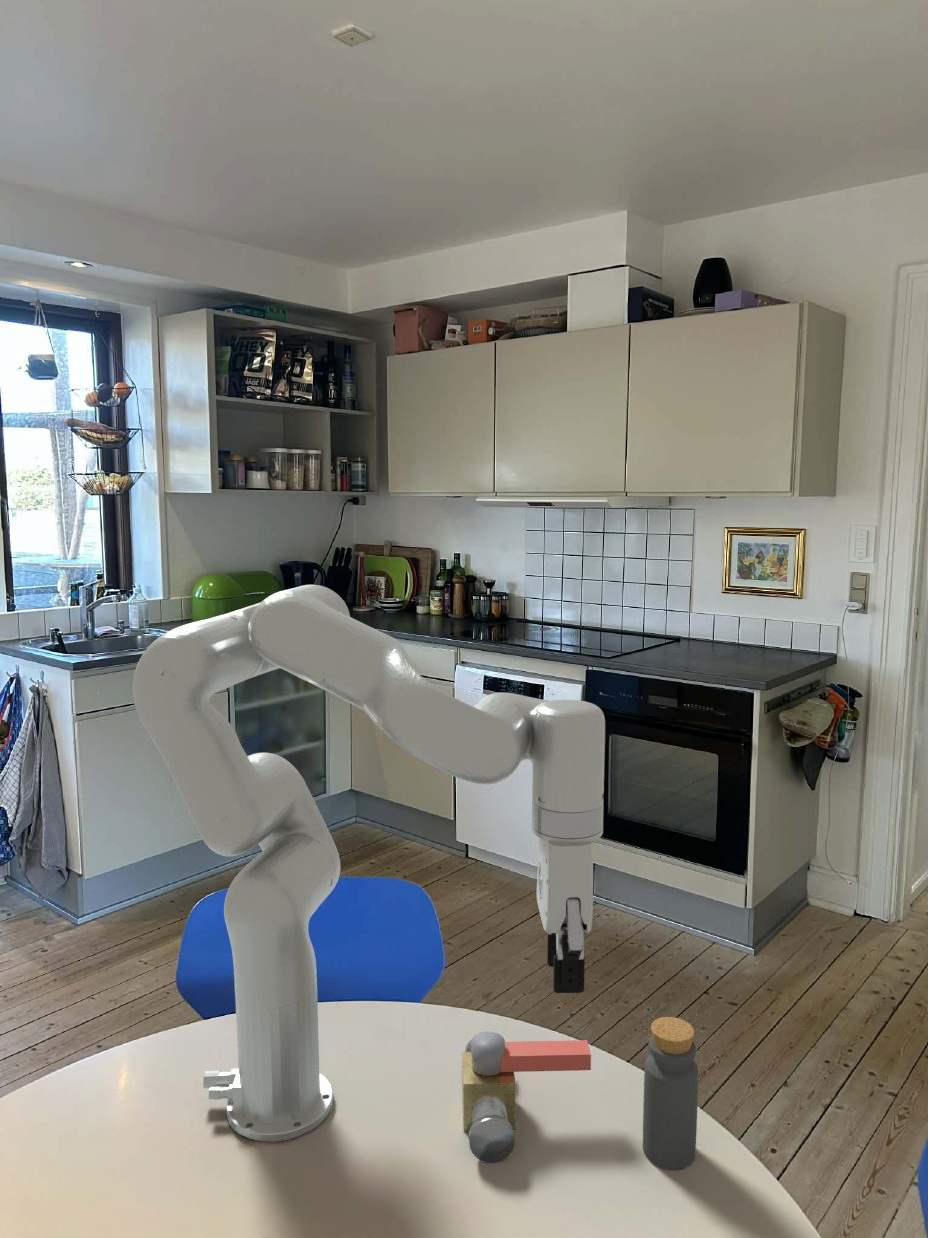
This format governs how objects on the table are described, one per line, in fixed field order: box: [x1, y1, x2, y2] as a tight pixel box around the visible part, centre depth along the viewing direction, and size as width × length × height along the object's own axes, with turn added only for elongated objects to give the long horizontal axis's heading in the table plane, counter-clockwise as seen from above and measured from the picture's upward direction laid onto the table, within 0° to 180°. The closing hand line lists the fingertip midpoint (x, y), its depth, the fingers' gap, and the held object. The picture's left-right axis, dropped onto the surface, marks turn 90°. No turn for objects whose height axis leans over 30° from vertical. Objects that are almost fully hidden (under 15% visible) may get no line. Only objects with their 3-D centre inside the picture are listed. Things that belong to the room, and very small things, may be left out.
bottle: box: [642, 1016, 699, 1171], centre depth 102 cm, size 6×6×15 cm
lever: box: [470, 1031, 592, 1076], centre depth 108 cm, size 14×4×3 cm, turn 92°
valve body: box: [461, 1039, 516, 1164], centre depth 109 cm, size 6×16×6 cm, turn 2°
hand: (565, 976), depth 99 cm, fingers open, 4 cm apart
